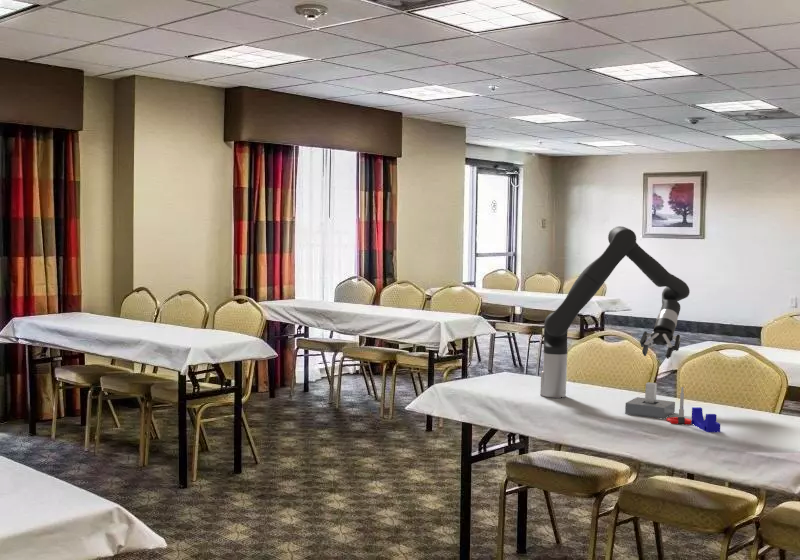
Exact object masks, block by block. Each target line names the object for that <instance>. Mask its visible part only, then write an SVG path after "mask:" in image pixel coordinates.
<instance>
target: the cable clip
mask: <svg viewBox="0 0 800 560" xmlns="http://www.w3.org/2000/svg"><path fill="white" fill-rule="evenodd" d="M703 414H704V413H703V408H702V407H695V406H694V407H691V420H692V422H691V425H692V424H694V425H695V427H696V426H697V427H696V428H698V427H699V429H700V430H702V431H704V432H706V433H721V423H720V422H718V421H717V417H718V415H717V414H716V413H705V418H704V415H703ZM694 425H693V426H694Z"/></svg>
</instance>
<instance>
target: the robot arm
mask: <svg viewBox="0 0 800 560" xmlns="http://www.w3.org/2000/svg"><path fill="white" fill-rule="evenodd" d="M607 239H608V243H609V244H608V245H607V247H606V249H605V250H604V252H602V254H601V255H599V257H598V258H596V259H595V260H594V261H592V262H591V263H590V264H589V265H587V266H586V267H585V268H584V269H583V270H582V272H581V273H580V274H579V276H578V277H577V278H576V279H575V281H574V283H573V284H572V286H571V288H570V290H569V291H568V293H567V295H566V296H565V299H564V300H563V301H562V303H561V304H560V305H559V306H558V307H557V308H556V310H554V312H551V313H549V314H548V315H547V316H546V317H545V318H544V323H543V324H544V326H543V361H542V362H543V365H542V371H541V372H540V389H539V390H540V392H539V393H540V396H543V397H545V398H551V399H552V398H554V399H555V398H557V399H558V398H559V399H560V398H561V397H562V398H566V397H565V396H567V394H566V393H567V392H566V391H567V369H568V368H567V367H568V333H569V332H568V330H569V329H570V327H571V325H572V323H573V321H574V320H575V319H576V317H577V315H578V314H579V313H580V311H582V310H583V309H584V307H586V305H587V304H588V303H589V302H590V301H591V300H592V298H594V296H595V295H596V294H597V293H598V292H599V290H600V288H601V287H602V286H603V284H604V283H605V282H606V281H607V279H608V278H609V277H610V275H611V274H612V272H613V271H614V270H615V268H616V267H617V266H618V264H620V262H621V261H622V260H624V258H625V257H626V258H627V259H629V260H630V261H631V262H632V263H634V265H636V267H638V269H639V270H640V271H641V272H642V273H643V274H644V275H645V276H646V277H647V278H648V279H649V280H650V281H651V282H652V283H653V284H654V285H655V286H656V287H658V288H664V289H663V290H662V292H661V307H660V310H659V313H658V315H657V317H656V321H655V323H654V328H653V330H652V332H651V333H650V332H648V331H644V332H643V333H642V336H641V338H640V341H639V344H640V347H641V348H642V351H641V353H642V355H643V356H645V357H646V356H647V354H648V351H649V348H650V347H654V346H655V345H657V346H663V347H664V346H666V347H667V350H666V354H665V357H666V359H670V358H671V357H672V355H673V352H674V351H675V352H678V351H679V349H680V345H681V340H682V339H681V335H680V334H676V335H675V334H674V333H675V330H676V327H677V324H678V319H679V315H680V312H681V304H680V301H682V300H684V299H686V298H688V297H689V296H690V291H691V290H690V288H689V286H688V284H687V283H686V282H685V281H684V280H682V279H681V278H679V277H678V276H676V275H674V274H672V273H671V272H669V271H668V270H667V269H666V268H665V267H664V266H663V265H662V264H661V263H659V261H657V259H655V258H654V257H653V256H652V255H650V254H649V253H648V252H647V251H646V250H644V249H643V248H642V247H641V246H640V245H639V244H638V243H637V235H636V233H635V231H633V230H632V229H631V228H628V227H626V226H622V225H621V226H615V227H613V228H612V229H611V230H610V231H609V233H608V235H607ZM672 341H674V342H675V343H674V345H673V344H672V343H671V342H672Z"/></svg>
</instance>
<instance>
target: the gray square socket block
mask: <svg viewBox="0 0 800 560" xmlns="http://www.w3.org/2000/svg"><path fill="white" fill-rule="evenodd" d="M674 412H675V413H676V401H670V400H664V399H663V400H662V399H656V404H649V403H645V397H639V396H638V397H635V398H632V399H631V400H628V401H627V402H625V408H624V414H626V415H630V414H631V415H632V416H637V415H639V416H640V417H645V416H646V417H645V418H652V417H655V419H660V418H662V419H661V420H665V419H667V418H668V417H670V416H671V414H672V413H673V414H675V413H674ZM673 414H672V415H673ZM669 415H670V416H669ZM639 416H638V417H639ZM667 416H668V417H667ZM666 417H667V418H666ZM664 418H665V419H664Z"/></svg>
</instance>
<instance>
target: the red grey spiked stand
mask: <svg viewBox="0 0 800 560" xmlns="http://www.w3.org/2000/svg"><path fill="white" fill-rule="evenodd" d="M679 396H680V398H679V409H678V416H668V417H667V418H665V419H666V421H667V422H669V423H670V425H671V424H672V425H682V424H684V425H686V424H687V426H689V425H692V424H691V422H692V418H686V417H685V416H684V415H685V409H684V401H685V393H684V386H681V387H680V394H679Z"/></svg>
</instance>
